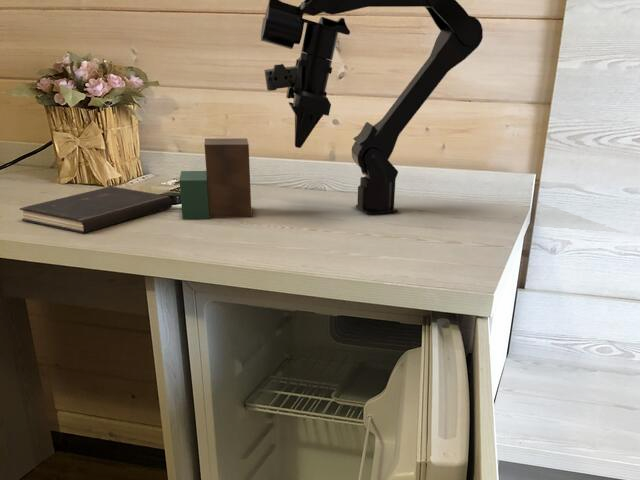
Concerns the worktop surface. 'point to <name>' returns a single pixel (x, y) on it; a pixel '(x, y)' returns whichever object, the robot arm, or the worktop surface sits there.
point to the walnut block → (228, 177)
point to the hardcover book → (95, 209)
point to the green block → (194, 195)
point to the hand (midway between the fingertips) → (297, 147)
